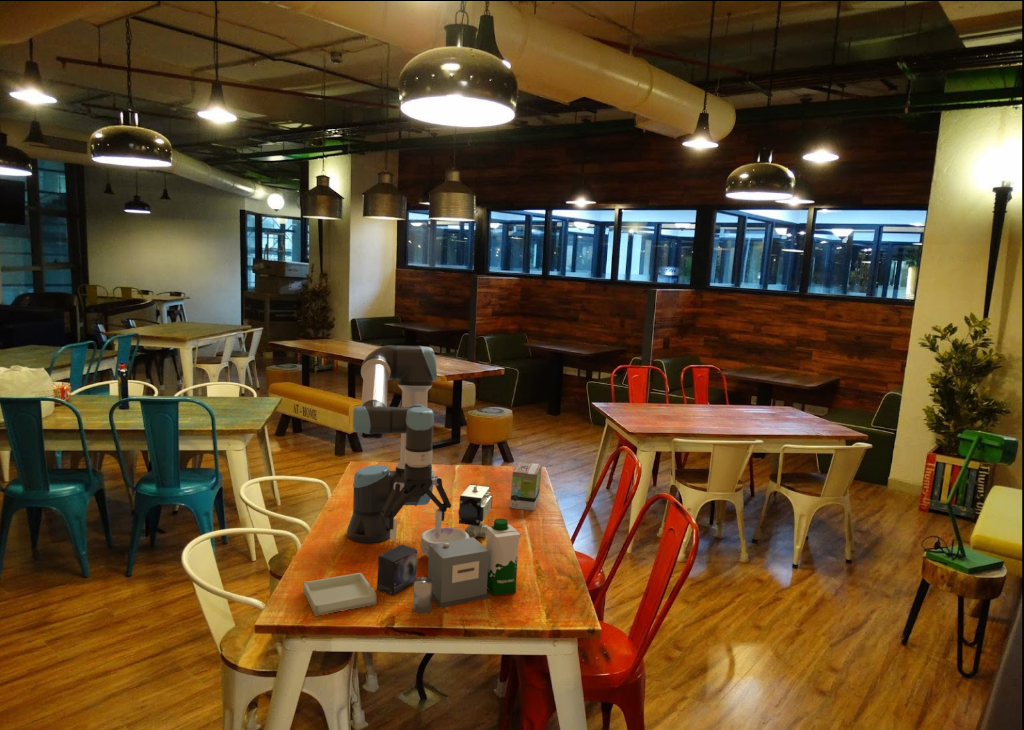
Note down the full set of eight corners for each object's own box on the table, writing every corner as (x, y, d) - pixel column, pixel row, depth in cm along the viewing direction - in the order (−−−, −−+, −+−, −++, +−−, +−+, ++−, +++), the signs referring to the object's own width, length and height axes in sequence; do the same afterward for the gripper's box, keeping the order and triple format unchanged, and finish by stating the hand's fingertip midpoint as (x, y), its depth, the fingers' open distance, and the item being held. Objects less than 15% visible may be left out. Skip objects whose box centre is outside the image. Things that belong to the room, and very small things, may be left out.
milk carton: (508, 580, 210) (511, 516, 207) (520, 593, 202) (524, 528, 199) (480, 584, 206) (483, 519, 203) (492, 598, 198) (495, 531, 195)
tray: (303, 592, 196) (303, 582, 195) (361, 582, 203) (361, 572, 203) (315, 616, 183) (315, 606, 183) (376, 604, 191) (376, 594, 190)
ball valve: (480, 547, 232) (483, 496, 229) (456, 544, 234) (458, 493, 231) (493, 528, 249) (495, 480, 247) (470, 525, 251) (472, 477, 248)
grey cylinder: (410, 606, 191) (411, 578, 190) (427, 602, 194) (428, 575, 192) (416, 614, 187) (417, 586, 186) (434, 611, 189) (435, 583, 188)
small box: (393, 596, 196) (394, 561, 194) (375, 589, 199) (376, 555, 198) (417, 582, 205) (418, 549, 203) (400, 576, 208) (401, 543, 207)
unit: (424, 590, 201) (426, 541, 198) (472, 581, 208) (474, 533, 205) (439, 607, 191) (441, 556, 189) (488, 597, 198) (491, 548, 196)
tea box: (535, 511, 268) (537, 474, 266) (509, 508, 270) (511, 471, 268) (539, 498, 283) (542, 463, 281) (515, 495, 285) (517, 460, 282)
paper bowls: (450, 545, 233) (451, 522, 232) (477, 561, 221) (479, 538, 220) (411, 555, 223) (412, 532, 222) (437, 573, 212) (438, 548, 210)
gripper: (379, 472, 184) (378, 548, 188) (464, 462, 197) (461, 533, 200) (370, 464, 191) (368, 537, 194) (453, 454, 203) (450, 523, 207)
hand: (415, 535), depth 197 cm, fingers open, 13 cm apart
